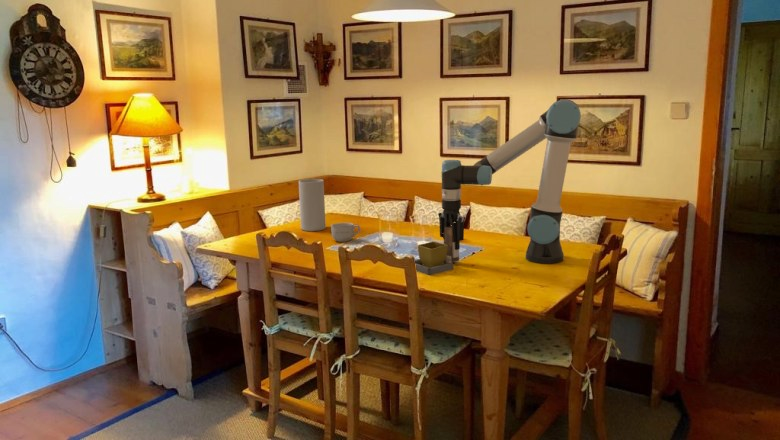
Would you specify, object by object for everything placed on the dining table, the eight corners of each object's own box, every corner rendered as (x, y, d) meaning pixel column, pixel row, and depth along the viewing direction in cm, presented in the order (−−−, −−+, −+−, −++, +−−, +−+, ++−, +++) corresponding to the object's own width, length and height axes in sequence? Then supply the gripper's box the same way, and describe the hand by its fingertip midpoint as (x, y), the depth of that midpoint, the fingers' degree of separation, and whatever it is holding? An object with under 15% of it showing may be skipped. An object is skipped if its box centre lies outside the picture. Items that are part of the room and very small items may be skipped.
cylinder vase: (324, 231, 323) (321, 182, 318) (299, 231, 323) (296, 182, 318) (326, 226, 335) (324, 178, 330) (303, 226, 335) (300, 179, 330)
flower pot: (431, 271, 249) (431, 248, 247) (417, 266, 256) (416, 244, 254) (448, 267, 254) (448, 245, 253) (433, 262, 261) (433, 241, 259)
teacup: (327, 242, 300) (326, 225, 298) (338, 237, 310) (337, 221, 308) (354, 244, 295) (354, 227, 293) (364, 239, 305) (363, 222, 303)
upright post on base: (463, 262, 258) (463, 228, 255) (449, 265, 253) (448, 231, 250) (448, 257, 265) (447, 224, 262) (434, 261, 260) (433, 227, 257)
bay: (453, 269, 251) (453, 263, 251) (429, 275, 244) (429, 269, 243) (429, 262, 262) (429, 256, 262) (406, 267, 255) (406, 261, 254)
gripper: (430, 197, 259) (430, 253, 264) (459, 203, 246) (459, 261, 251) (443, 195, 264) (444, 250, 268) (473, 200, 250) (473, 258, 255)
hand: (451, 255), depth 260 cm, fingers closed on upright post on base, 4 cm apart
